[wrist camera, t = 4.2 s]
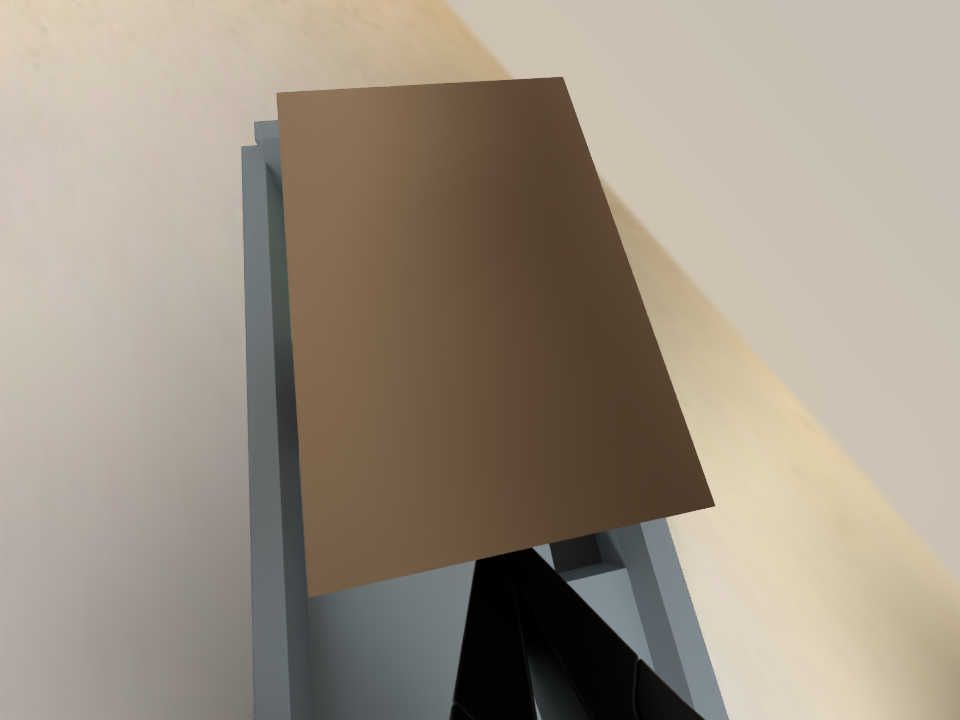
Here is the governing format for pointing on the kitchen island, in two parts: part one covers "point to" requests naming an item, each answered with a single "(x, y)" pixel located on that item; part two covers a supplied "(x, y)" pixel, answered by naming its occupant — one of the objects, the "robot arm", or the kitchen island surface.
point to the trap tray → (413, 598)
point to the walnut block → (465, 333)
